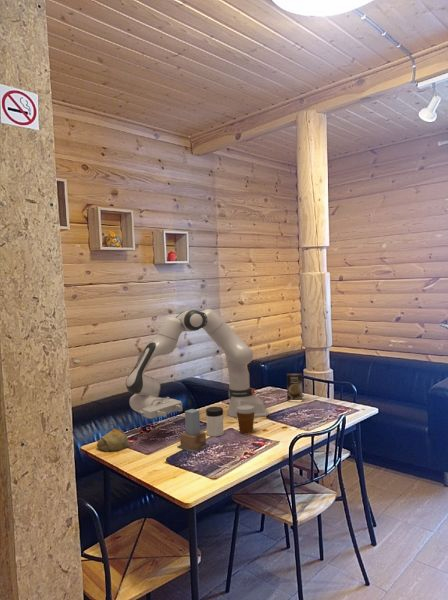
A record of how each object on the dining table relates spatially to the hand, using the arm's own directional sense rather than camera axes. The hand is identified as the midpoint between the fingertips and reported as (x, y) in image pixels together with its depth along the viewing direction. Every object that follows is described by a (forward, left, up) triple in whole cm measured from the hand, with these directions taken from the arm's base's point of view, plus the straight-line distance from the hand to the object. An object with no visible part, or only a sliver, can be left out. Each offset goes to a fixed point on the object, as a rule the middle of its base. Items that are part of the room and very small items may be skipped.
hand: (173, 411), depth 204 cm
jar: (-19, -7, -14) cm, 24 cm away
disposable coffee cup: (-34, -8, -14) cm, 37 cm away
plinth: (-9, +8, -14) cm, 18 cm away
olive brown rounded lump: (+27, +4, -14) cm, 31 cm away
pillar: (-9, +8, -8) cm, 14 cm away
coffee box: (-67, -58, -14) cm, 90 cm away
